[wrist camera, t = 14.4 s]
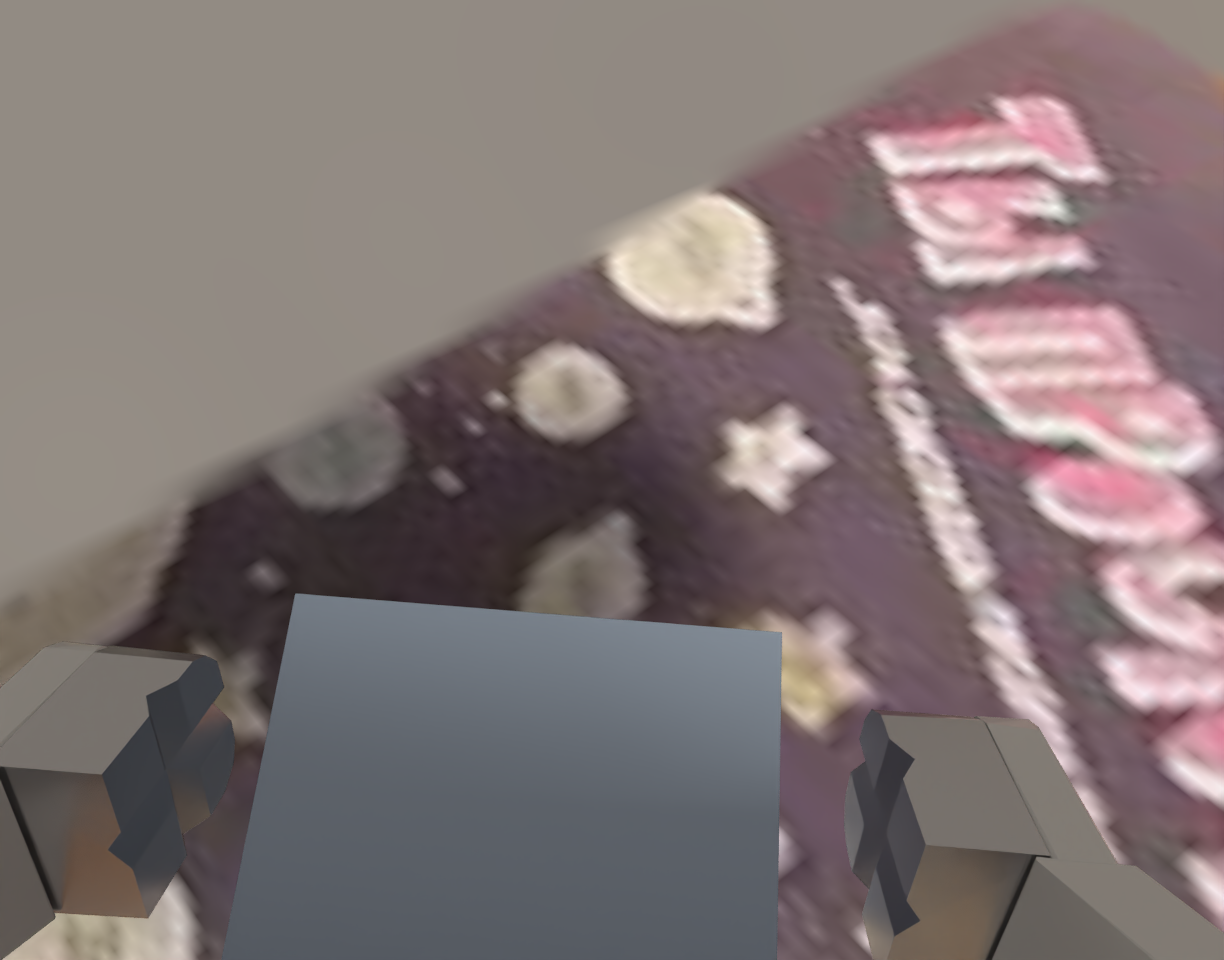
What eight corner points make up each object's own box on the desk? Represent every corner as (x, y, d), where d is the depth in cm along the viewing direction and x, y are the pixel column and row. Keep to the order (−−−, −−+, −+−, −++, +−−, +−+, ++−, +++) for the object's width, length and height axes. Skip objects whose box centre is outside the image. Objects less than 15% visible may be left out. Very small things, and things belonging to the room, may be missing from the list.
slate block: (682, 879, 13) (775, 1066, 6) (440, 858, 13) (211, 1012, 6) (691, 691, 14) (781, 631, 7) (464, 672, 14) (295, 594, 7)
